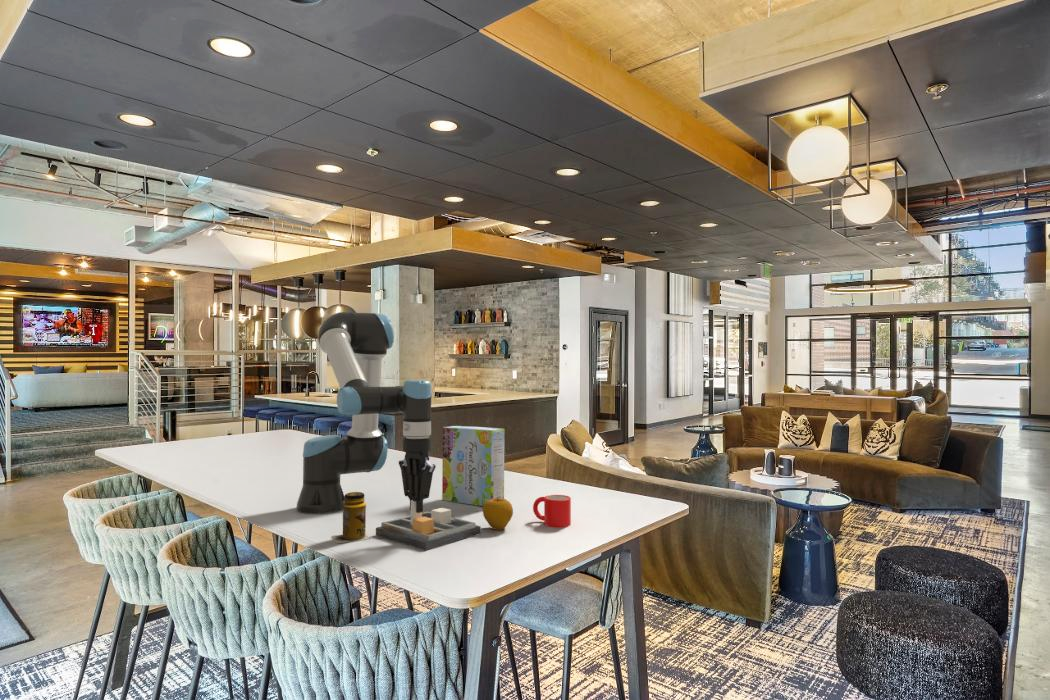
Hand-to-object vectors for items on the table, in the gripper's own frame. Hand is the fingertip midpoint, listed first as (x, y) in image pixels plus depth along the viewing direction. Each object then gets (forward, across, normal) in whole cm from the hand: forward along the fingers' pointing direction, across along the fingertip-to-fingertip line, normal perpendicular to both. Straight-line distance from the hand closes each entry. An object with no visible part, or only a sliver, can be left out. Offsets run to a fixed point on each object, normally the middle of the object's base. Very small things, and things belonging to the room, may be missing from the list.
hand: (416, 523), depth 163 cm
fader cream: (+2, -1, +10) cm, 10 cm away
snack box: (+4, -19, +41) cm, 46 cm away
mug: (+4, +18, +37) cm, 41 cm away
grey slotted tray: (+4, -1, +5) cm, 7 cm away
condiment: (+4, -14, -11) cm, 18 cm away
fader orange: (+2, +3, 0) cm, 3 cm away
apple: (+4, +10, +22) cm, 24 cm away
